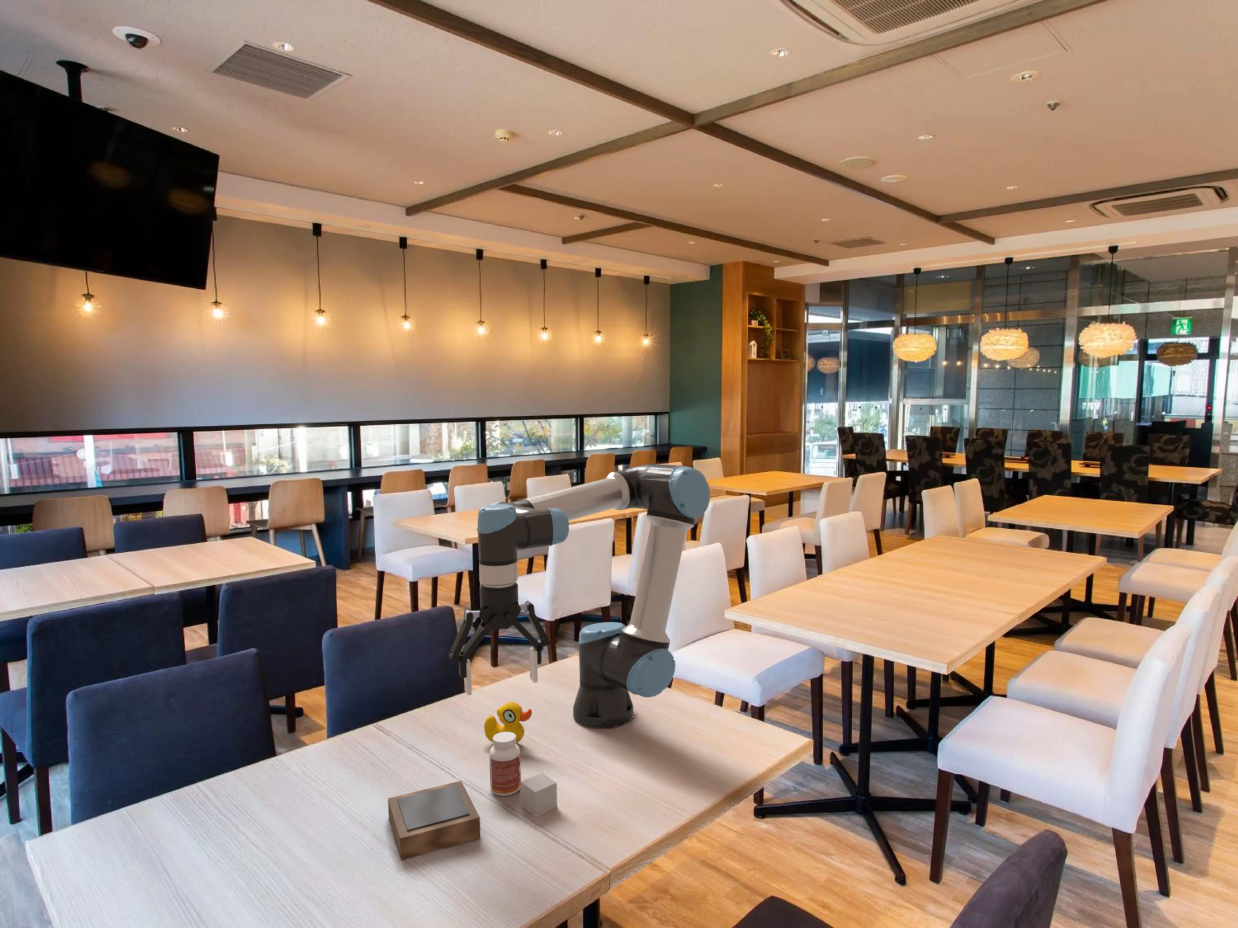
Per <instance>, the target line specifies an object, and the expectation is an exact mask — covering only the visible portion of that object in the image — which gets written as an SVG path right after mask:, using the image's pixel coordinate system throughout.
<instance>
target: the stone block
mask: <svg viewBox="0 0 1238 928" xmlns="http://www.w3.org/2000/svg"><path fill="white" fill-rule="evenodd" d="M557 789H558V784H557V781H556V780H553V779H551V778H550V777H549V776H548V775H546V774H544V773H543V772H541V773H538V774H535V775H533V776H531V777H529V778H526V779H524V780H521V787H520V801H521V802H520V804H521V807H522V808H524V809H525V810H526V811H528V812H529V813H530V814H531V815H533V816H534V817H539V816H541V815H543V814H545V813H547V812H549V811H551V810H554V809H556V808H557V807H558V790H557Z"/></svg>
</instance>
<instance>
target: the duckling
mask: <svg viewBox="0 0 1238 928" xmlns="http://www.w3.org/2000/svg"><path fill="white" fill-rule="evenodd" d="M532 714H533V711H532V709H531V708H529V709H528V710H526V711H523V708H522V706H521V705H520V704H519V703H517V702H514V701H509V702H506V703H505V704H503V705H502V706H500V707H498V708H497V709H496V715H497V717H498V718H499V719H498V720H499V721H500V722H501V723H502V724H500V723H498V721H497V718H496V717H495V716H494V715H489V716H487V718H486V719H485V721H484V724H483V725H484V726H483V728H484V734H485V737H486V738H487V740H489V742H491V743H493V736H494V735H496V734H498V733H501V732H512V733H514V734H515V735H516V744H517V745H518V743H519V742H520V741H521V740H522V739H523V738H524V735H525V728H524V726H523V724H522V723H521V722H526V721H528V720H530V719H531V717H532Z"/></svg>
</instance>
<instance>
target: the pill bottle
mask: <svg viewBox="0 0 1238 928" xmlns="http://www.w3.org/2000/svg"><path fill="white" fill-rule="evenodd" d="M521 774H522V773H521V749H520V747H519V745H518V743H517V744H516V735H515V734H514V733H512V732H501V733H498V734H496V735H494V736H493V742H492V747H491V748H490V749H489V781H490V783H489V785H490V792H491V793H493V794H494V795H496V796H500V797H507V796H512V795H515V794H517V792H518V791H519V790H521V781H522V776H521Z"/></svg>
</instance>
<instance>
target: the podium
mask: <svg viewBox="0 0 1238 928" xmlns="http://www.w3.org/2000/svg"><path fill="white" fill-rule="evenodd" d="M387 809H388V820H389V825H390V828H391V830H392V835H393V837H394V841H395V844H396V849H397V852H398V855H399V859H400V861H404V860H406V859H411V858H414V857H417V856H422V855H425V854H428V853H429V854H430V853H432V852H436V851H439V850H444V849H447V848H450V847H453V846H457V845H461V844H462V845H463V844H464V843H467V842H472V841H475V840H480V839H481V817H480V815H479V812H478V811H477V808H476V807H475V805H474V802H473V801H472V799H471V797H470V795H469V793H468V791H467V789H466V787H465V785H464V783H463V781H462V780H458V781H453V782H450V783H446V784H442V785H438V786H434V787H429V788H424V789H421V790H417V791H413V792H408V793H403V794H400V795H396V796H392V797H388V798H387Z"/></svg>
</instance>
